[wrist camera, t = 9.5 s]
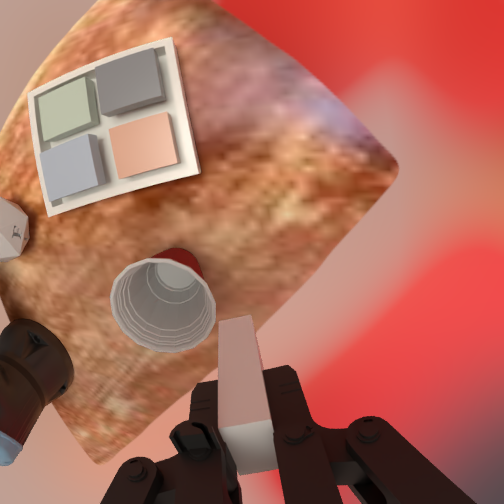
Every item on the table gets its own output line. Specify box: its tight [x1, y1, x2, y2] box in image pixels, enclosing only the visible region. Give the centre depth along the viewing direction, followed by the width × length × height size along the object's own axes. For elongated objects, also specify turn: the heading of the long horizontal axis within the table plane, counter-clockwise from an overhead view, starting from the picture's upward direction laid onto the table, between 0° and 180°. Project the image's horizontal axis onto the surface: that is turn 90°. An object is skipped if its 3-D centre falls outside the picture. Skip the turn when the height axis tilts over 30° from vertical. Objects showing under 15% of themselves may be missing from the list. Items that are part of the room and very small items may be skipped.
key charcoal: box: [95, 48, 166, 117], centre depth 29 cm, size 7×6×3 cm
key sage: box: [38, 77, 99, 142], centre depth 31 cm, size 7×6×3 cm
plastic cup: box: [110, 248, 216, 353], centre depth 35 cm, size 11×11×12 cm
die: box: [0, 197, 30, 262], centre depth 33 cm, size 8×9×10 cm
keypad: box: [27, 37, 201, 217], centre depth 33 cm, size 20×17×4 cm
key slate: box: [39, 134, 106, 202], centre depth 31 cm, size 7×6×3 cm
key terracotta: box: [109, 111, 181, 179], centre depth 33 cm, size 7×6×3 cm
